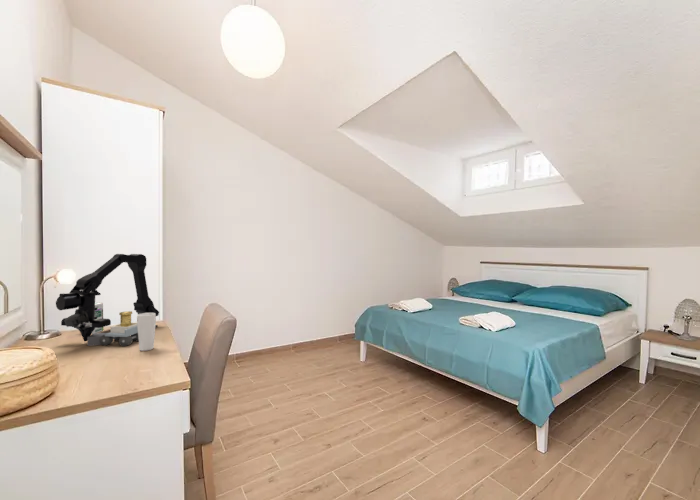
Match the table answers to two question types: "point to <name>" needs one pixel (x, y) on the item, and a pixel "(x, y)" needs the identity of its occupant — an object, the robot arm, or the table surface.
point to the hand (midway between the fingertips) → (85, 341)
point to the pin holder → (105, 331)
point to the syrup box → (98, 315)
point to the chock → (94, 339)
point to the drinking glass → (146, 330)
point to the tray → (121, 328)
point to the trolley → (120, 337)
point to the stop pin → (125, 318)
